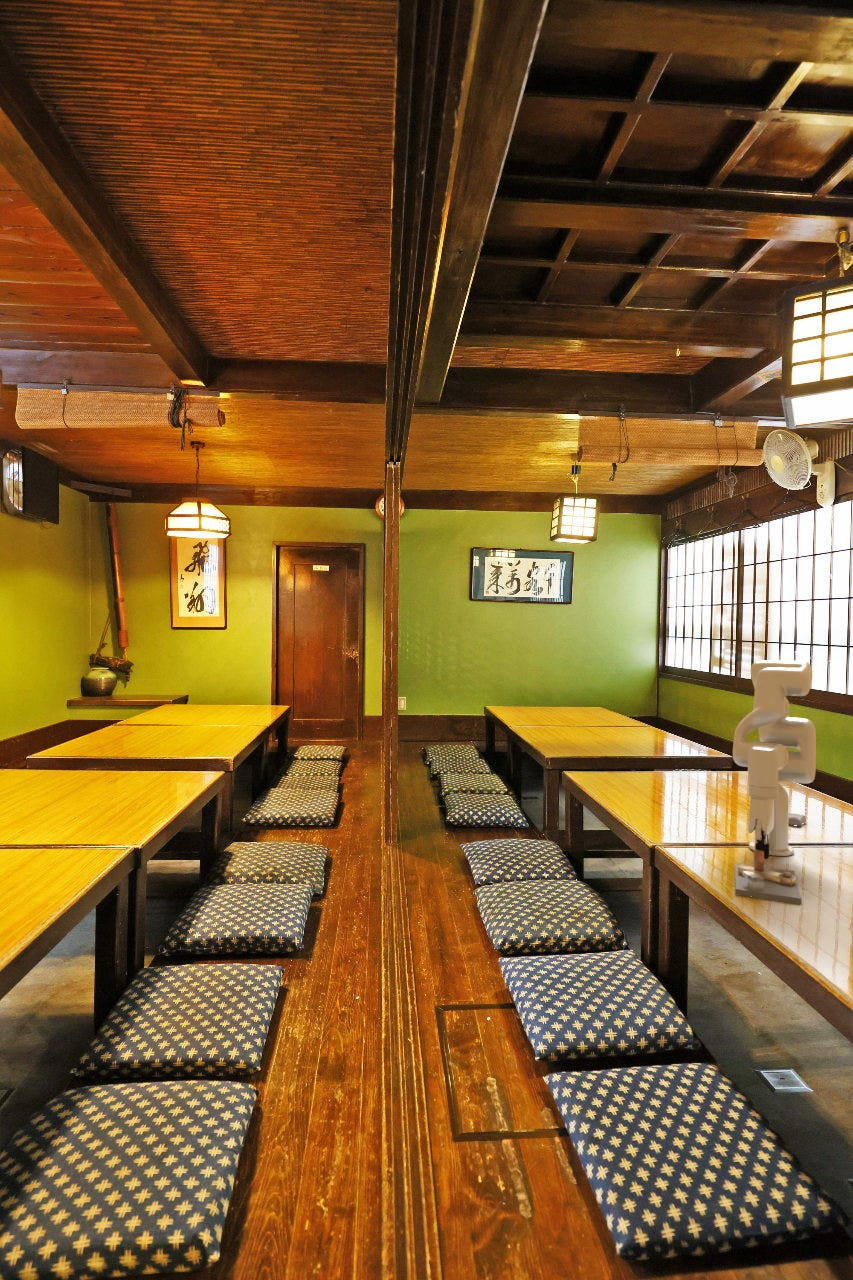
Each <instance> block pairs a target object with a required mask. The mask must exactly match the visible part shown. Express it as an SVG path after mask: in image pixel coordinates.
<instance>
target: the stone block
mask: <svg viewBox="0 0 853 1280" xmlns="http://www.w3.org/2000/svg"><path fill="white" fill-rule="evenodd" d="M806 817H807V816H806V815H804V814H799V813H790V812H789V824H790V825H797V826H801V825H802V823H805V822H807V818H806ZM805 824H806V823H805ZM790 825H789V826H790ZM802 826H803V825H802ZM802 826H801V827H802Z"/></svg>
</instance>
